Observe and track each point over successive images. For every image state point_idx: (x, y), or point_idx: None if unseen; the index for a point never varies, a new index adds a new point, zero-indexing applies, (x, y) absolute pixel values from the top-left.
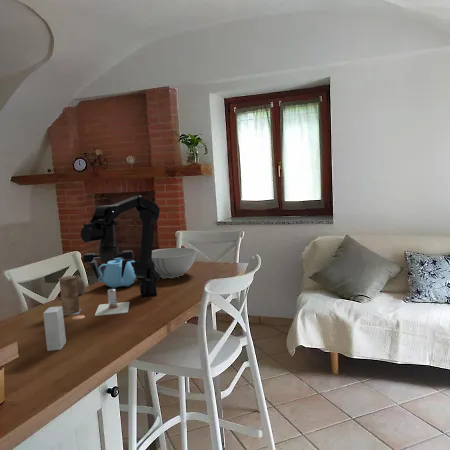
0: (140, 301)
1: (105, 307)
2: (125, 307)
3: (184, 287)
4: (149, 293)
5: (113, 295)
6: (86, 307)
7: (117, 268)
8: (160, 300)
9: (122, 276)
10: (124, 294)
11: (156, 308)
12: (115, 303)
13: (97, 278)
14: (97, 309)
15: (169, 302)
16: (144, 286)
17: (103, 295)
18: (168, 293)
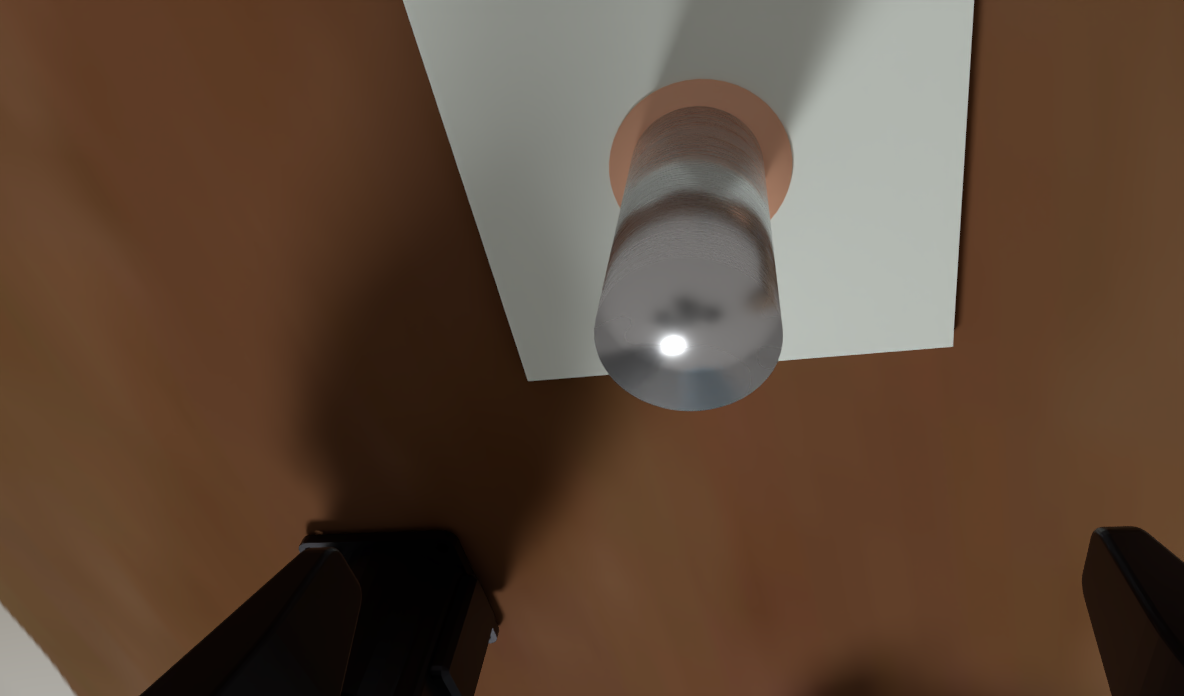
0: (406, 394)
1: (830, 189)
2: (491, 133)
3: None
4: (365, 561)
5: (642, 217)
6: (1160, 291)
7: None
8: (175, 382)
9: (301, 560)
10: (688, 642)
11: (21, 54)
12: (636, 160)
13: (1146, 540)
14: (962, 100)
15: (17, 289)
16: (389, 645)
17: (930, 667)
18: (222, 570)
